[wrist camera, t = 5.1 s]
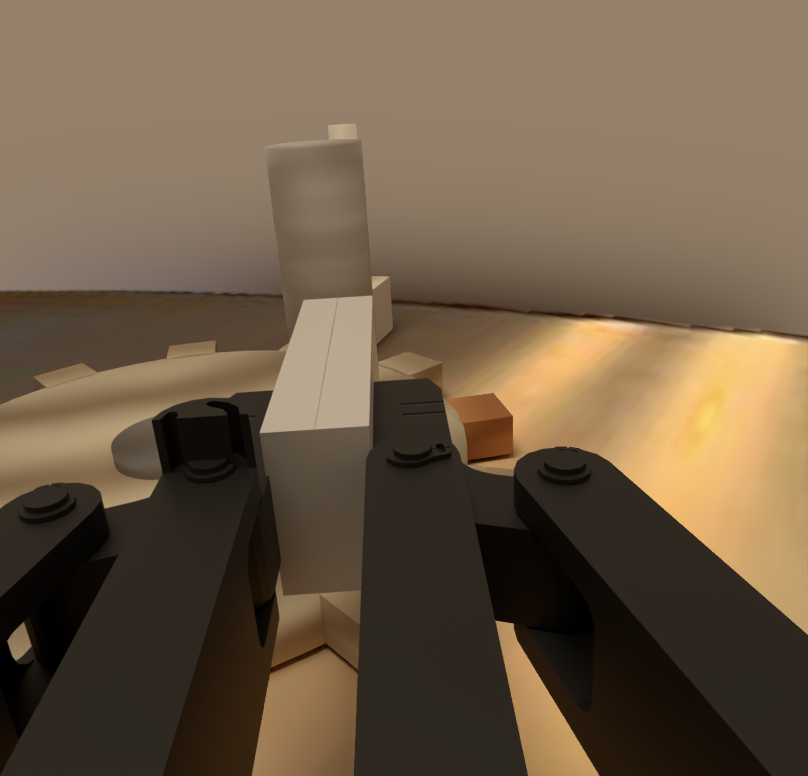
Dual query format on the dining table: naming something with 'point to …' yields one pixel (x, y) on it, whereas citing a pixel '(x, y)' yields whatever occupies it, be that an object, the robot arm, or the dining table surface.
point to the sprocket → (232, 383)
